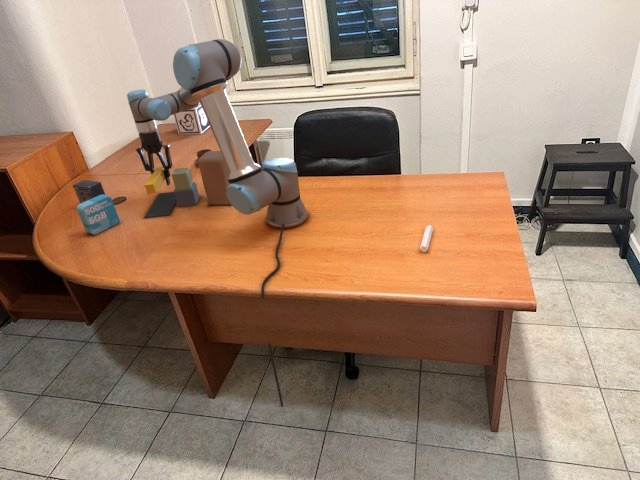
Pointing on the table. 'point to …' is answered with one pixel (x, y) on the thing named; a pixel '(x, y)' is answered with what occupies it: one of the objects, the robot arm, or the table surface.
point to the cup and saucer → (199, 154)
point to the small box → (88, 190)
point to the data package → (98, 214)
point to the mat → (162, 205)
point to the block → (214, 177)
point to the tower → (185, 187)
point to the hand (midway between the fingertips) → (164, 184)
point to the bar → (155, 181)
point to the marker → (426, 238)
